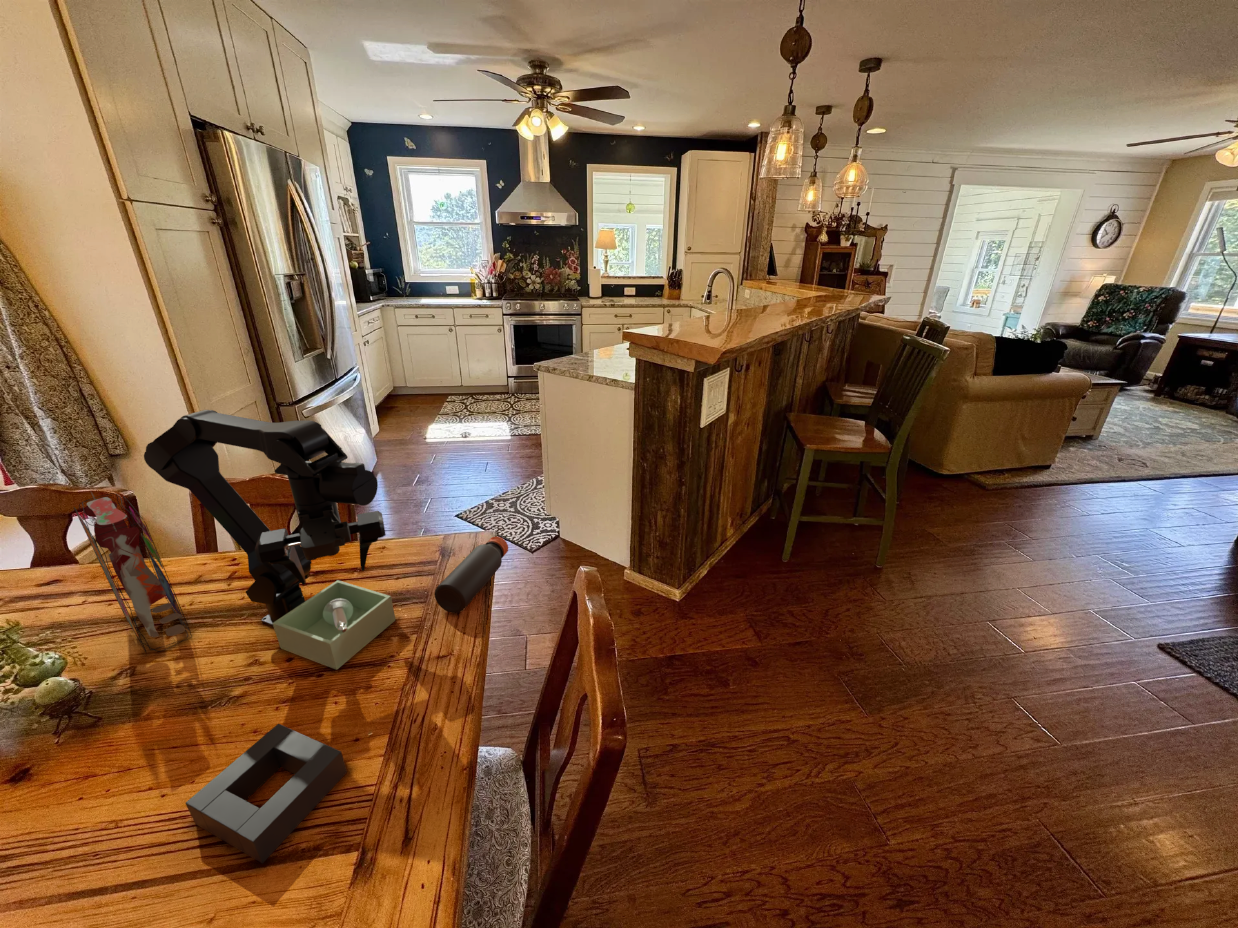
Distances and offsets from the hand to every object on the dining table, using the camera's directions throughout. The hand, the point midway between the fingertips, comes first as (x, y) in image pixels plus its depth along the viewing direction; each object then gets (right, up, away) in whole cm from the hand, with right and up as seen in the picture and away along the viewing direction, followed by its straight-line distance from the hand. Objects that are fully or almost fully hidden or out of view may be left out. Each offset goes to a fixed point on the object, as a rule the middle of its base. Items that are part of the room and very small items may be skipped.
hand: (334, 576), depth 87 cm
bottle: (+18, -6, +6) cm, 20 cm away
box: (-37, -9, +5) cm, 39 cm away
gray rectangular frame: (+7, -23, -25) cm, 34 cm away
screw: (-2, -7, +5) cm, 9 cm away
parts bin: (0, -11, +2) cm, 11 cm away
